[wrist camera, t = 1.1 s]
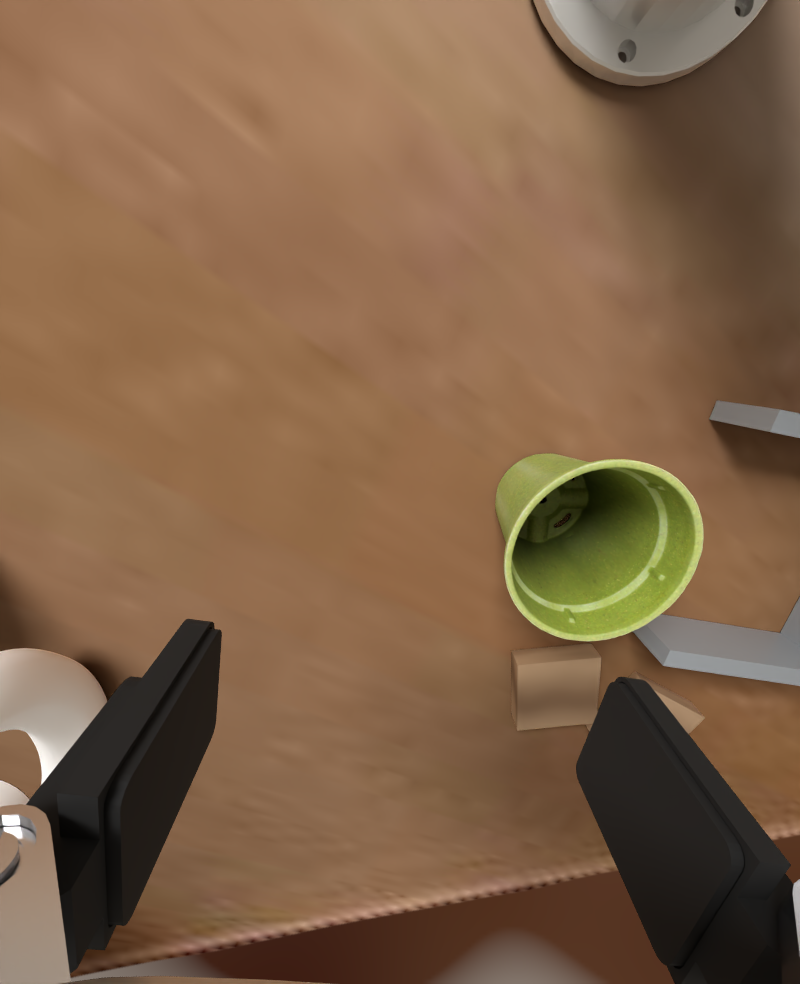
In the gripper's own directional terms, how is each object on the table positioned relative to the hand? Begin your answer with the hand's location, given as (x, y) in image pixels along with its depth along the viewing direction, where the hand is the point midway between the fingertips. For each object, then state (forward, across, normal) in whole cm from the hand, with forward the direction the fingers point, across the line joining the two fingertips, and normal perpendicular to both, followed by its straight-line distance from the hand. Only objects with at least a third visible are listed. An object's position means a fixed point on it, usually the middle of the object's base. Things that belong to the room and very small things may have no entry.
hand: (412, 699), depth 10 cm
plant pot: (+19, -10, 0) cm, 21 cm away
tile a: (+19, -14, +14) cm, 27 cm away
